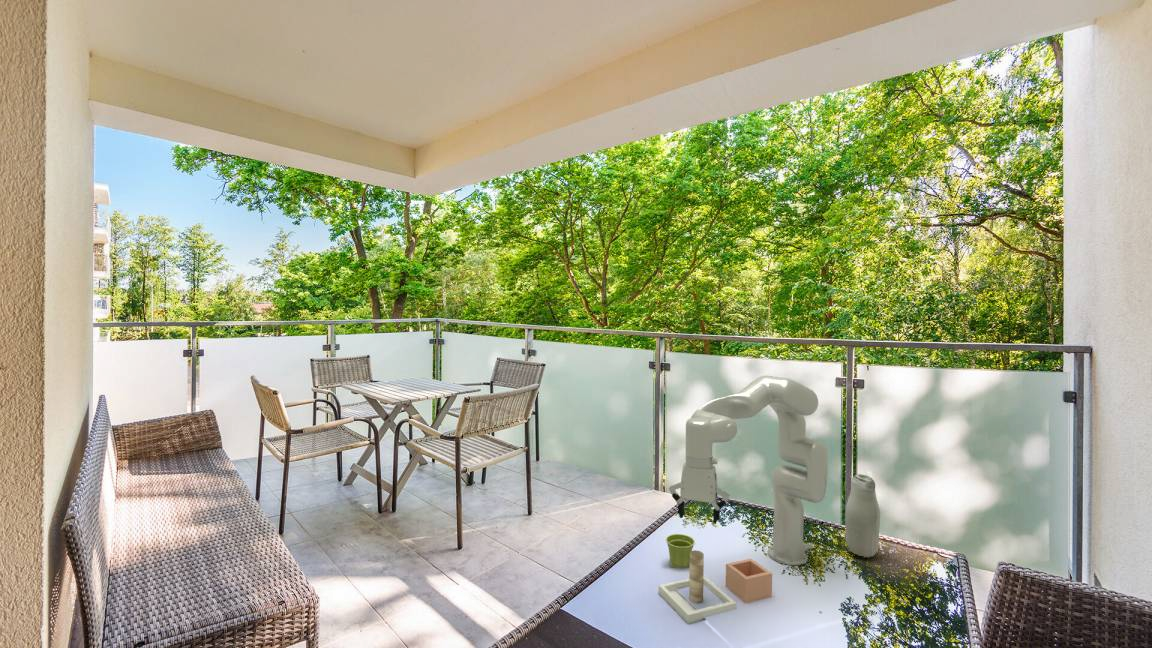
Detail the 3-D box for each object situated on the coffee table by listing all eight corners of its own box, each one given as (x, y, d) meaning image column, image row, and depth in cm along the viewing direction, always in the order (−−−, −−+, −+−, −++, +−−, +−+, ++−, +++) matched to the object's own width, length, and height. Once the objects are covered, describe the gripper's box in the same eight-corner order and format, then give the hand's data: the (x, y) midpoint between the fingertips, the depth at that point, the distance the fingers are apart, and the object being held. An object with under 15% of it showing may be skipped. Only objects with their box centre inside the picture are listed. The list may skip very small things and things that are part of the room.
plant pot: (694, 574, 172) (695, 548, 171) (665, 571, 173) (665, 545, 173) (694, 560, 181) (694, 535, 180) (666, 557, 183) (666, 532, 182)
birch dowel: (698, 595, 158) (698, 549, 158) (706, 602, 155) (706, 555, 154) (686, 598, 157) (686, 551, 156) (694, 605, 153) (694, 558, 153)
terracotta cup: (750, 583, 166) (751, 558, 166) (771, 599, 157) (772, 573, 157) (725, 589, 163) (725, 563, 162) (745, 606, 154) (746, 579, 154)
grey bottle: (883, 556, 184) (886, 476, 182) (867, 564, 178) (870, 482, 176) (854, 545, 192) (857, 469, 190) (839, 553, 186) (841, 474, 184)
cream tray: (703, 583, 166) (703, 575, 166) (736, 611, 151) (736, 603, 151) (658, 593, 160) (658, 585, 160) (688, 624, 146) (688, 615, 145)
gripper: (731, 461, 154) (731, 518, 155) (672, 454, 161) (672, 509, 162) (727, 469, 147) (727, 529, 148) (666, 461, 154) (666, 519, 155)
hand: (698, 519), depth 155 cm, fingers open, 9 cm apart
